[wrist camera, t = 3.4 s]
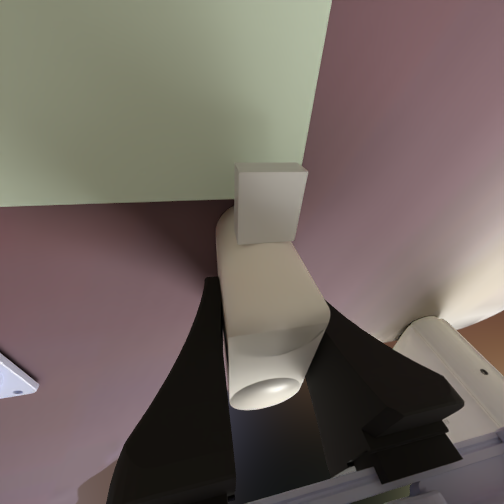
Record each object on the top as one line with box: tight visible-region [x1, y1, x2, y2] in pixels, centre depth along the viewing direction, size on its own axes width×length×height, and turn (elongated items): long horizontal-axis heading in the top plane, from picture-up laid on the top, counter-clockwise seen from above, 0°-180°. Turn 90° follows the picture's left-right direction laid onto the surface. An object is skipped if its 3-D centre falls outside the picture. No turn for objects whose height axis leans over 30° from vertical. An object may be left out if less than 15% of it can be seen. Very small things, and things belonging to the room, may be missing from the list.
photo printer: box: [393, 316, 504, 444], centre depth 19 cm, size 10×4×12 cm, turn 4°
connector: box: [216, 162, 330, 410], centre depth 10 cm, size 3×11×6 cm, turn 177°
